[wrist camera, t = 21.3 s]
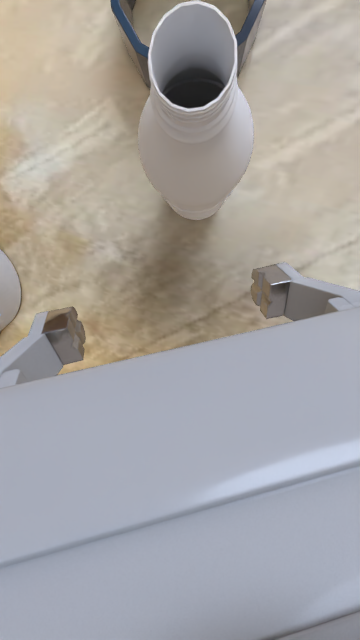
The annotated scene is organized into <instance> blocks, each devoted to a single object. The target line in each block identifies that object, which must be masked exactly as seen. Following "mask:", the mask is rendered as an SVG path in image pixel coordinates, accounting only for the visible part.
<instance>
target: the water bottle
mask: <svg viewBox="0 0 360 640" xmlns="http://www.w3.org/2000/svg"><path fill="white" fill-rule="evenodd" d="M148 69H149V78H150V82H151V88H150V96H149V98H148V100H147V102H146V104H145V106H144V109H143V111H142V114H141V118H140V122H139V130H138V150H139V155H140V160H141V163H142V166H143V169H144V171H145V173H146V175H147V177H148V179H149V181H150V182H151V184H152V185H153V186H154V188H155V189H156V190H157V191H158V192H159V193H160V194H161V195H162V197H163V198H164V199H165V200H166V202H168V203H169V205H170V206H171V207H172V209H173V210H174V211H175V212H176V213H178V214H179V215H181V216H182V217H184V218H187V219H192V220H201V219H205V218H207V217H210V216H212V215H213V214H214V213H216V212H217V211H218V210H219V209H220V208H221V206H222V205H223V203H224V202H225V200H226V199H227V198H228V197H229V195H230V194H231V192H232V191H233V189H234V188H235V186H236V185H237V184H238V183H239V182H240V180H241V178H242V177H243V175H244V173H245V172H246V169H247V167H248V164H249V161H250V158H251V154H252V150H253V143H254V126H253V120H252V114H251V111H250V108H249V105H248V102H247V100H246V98H245V97H244V95H243V93H242V91H241V90H240V88H239V87H238V82H237V76H236V73H237V40H236V37H235V34H234V32H233V29H232V26H231V24H230V21H229V20H228V19H227V18H226V17H225V16H224V14H223V13H222V12H221V11H220V10H219V9H218V8H217V7H216V6H214V5H211V4H208V3H205V2H202V1H200V0H195V1H189V2H183V3H179V4H178V5H177V6H175V7H174V8H173V9H171V10H170V11H168V12H167V13H166V14H164V15H163V17H162V19H161V20H160V22H159V24H158V25H157V27H156V29H155V30H154V32H153V34H152V39H151V43H150V48H149V52H148Z"/></svg>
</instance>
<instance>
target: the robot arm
mask: <svg viewBox="0 0 360 640" xmlns="http://www.w3.org/2000/svg"><path fill="white" fill-rule="evenodd" d="M252 279H253V280H254V283H253V284H252V285H251V296H252V299H253V301H254V303H255V304H256V305H258V306H260V311H261V312H262V314H263V315H264V316H265V318H266V319H268V318H273V317H278V316H283V315H284V316H285V317H287V318H289V319H291V320H293V322H289V323H284V324H280V325H275V326H271V327H267V328H262V329H258V330H254V331H249V332H245V333H240V334H236V335H232V336H227V337H223V338H218V339H214V340H210V341H205V342H201V343H197V344H192V345H188V346H183V347H179V348H175V349H170V350H166V351H161V352H157V353H153V354H148V355H144V356H139V357H135V358H131V359H126V360H122V361H118V362H113V363H109V364H104V365H100V366H96V367H91V368H87V369H82V370H78V371H74V372H69V373H65V374H61V375H57V374H58V373H59V371H60V370H61V369H62V367H63V365H65V364H69V363H73V362H77V361H81V360H83V358H84V347H83V344H84V343H85V339H86V337H85V330H84V327H83V325H82V322H80V321H79V320H77V316H78V314H77V311H76V309H75V308H74V307H73V306H72V307H67V308H62V309H56V310H51V311H45V312H41V313H37V314H36V315H35V318H34V321H33V323H32V326H31V329H30V331H29V334H28V337H26V338H23V339H22V340H21V341H19V342H18V343H17V344H16V345H14V346H13V347H12V348H11V349H10V350H8V351H7V352H6V353H5V354H3V355H2V356H1V357H0V640H360V291H358V290H354V289H351V288H347V287H343V286H339V285H335V284H332V283H328V282H324V281H320V280H316V279H313V278H309V277H307V278H304V277H303V276H302V275H301V274H300V273H298V272H297V271H296V270H295V269H294V268H293V267H291V266H290V265H289V264H288V263H286V262H282V263H278V264H274V265H270V266H266V267H262V268H257V269H253V271H252ZM20 302H21V287H20V282H19V278H18V275H17V273H16V270H15V268H14V266H13V265H12V263H11V261H10V260H9V258H8V257H7V256H6V255H5V253H4V252H3V251H2V250H1V249H0V332H1V330H2V329H3V328H4V327H6V326H7V325H8V324H9V323H10V322H11V321H12V320H13V319H14V317H15V316H16V314H17V312H18V309H19V306H20Z"/></svg>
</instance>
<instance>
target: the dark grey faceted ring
mask: <svg viewBox="0 0 360 640" xmlns="http://www.w3.org/2000/svg"><path fill="white" fill-rule="evenodd" d="M135 1H136V0H111V8H112V11H113V14H114V17H115V19H116V22H117V25H118V27H119V30H120V33H121V35H122V38H123V41H124V43H125V46H126V48H127V51H128V54H129V56H130V57H131V59H132V61H133V63H134V64H135V66H136V68H137V70H138V71H139V73H140V75H141V77H142V78H143V80H144V82H145V84H146V85H147V86H148V87H149V88H151V82H150V78H149V69H148V52H149V47H147V46H146V45H144V44H142V43H141V42H140V40H139V38H138V36H137V34H136V33H135V31H134V29H133V18H132V10H133V7H134V4H135ZM265 4H266V0H248V16H247V18H246V20H245V22H244V25H243V27H242V29H241V31H240V32H239V33H238V34H237V35H235V37H236V40H237V73H236V76H237V77H238V76H239V73H240V71H241V69H242V67H243V65H244V63H245V60H246V58H247V56H248V54H249V52H250V50H251V48H252V45H253V43H254V41H255V38H256V35H257V31H258V28H259V24H260V21H261V18H262V14H263V11H264V7H265Z"/></svg>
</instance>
